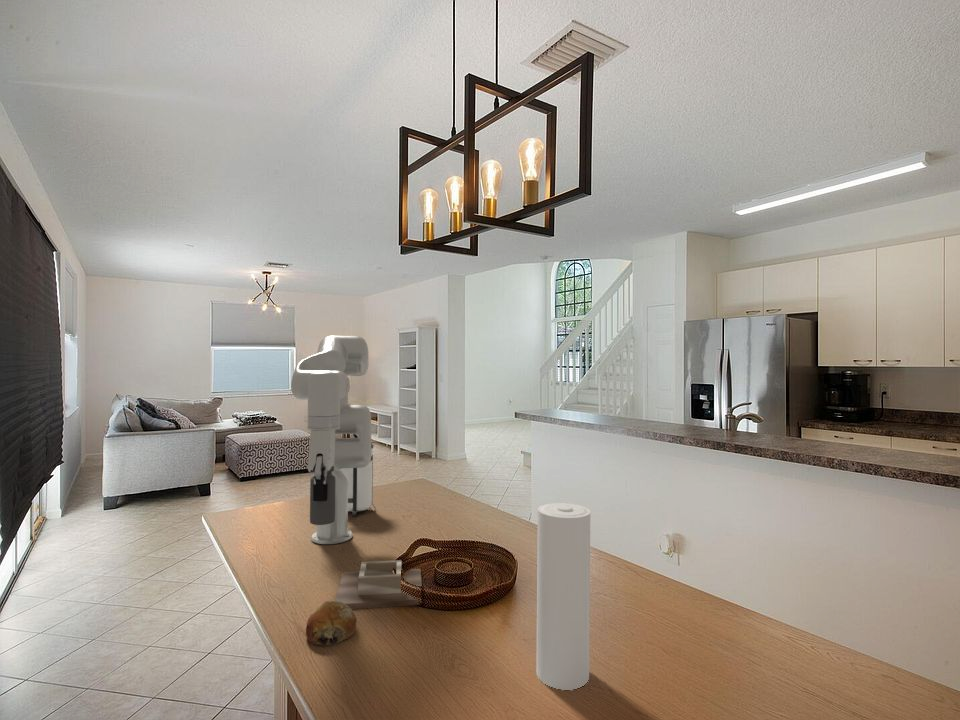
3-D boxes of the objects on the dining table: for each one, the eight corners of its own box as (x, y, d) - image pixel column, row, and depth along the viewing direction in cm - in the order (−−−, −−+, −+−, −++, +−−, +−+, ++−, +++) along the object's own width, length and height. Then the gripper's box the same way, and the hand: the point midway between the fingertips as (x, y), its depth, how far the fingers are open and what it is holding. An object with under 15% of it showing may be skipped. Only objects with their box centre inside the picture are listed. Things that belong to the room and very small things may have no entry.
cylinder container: (532, 660, 97) (533, 500, 97) (580, 658, 97) (582, 500, 98) (542, 691, 87) (543, 515, 88) (596, 689, 88) (597, 514, 88)
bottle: (327, 526, 121) (328, 462, 121) (305, 524, 122) (305, 461, 122) (339, 518, 126) (340, 458, 126) (318, 517, 128) (318, 456, 128)
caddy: (343, 576, 133) (343, 556, 133) (420, 573, 136) (420, 553, 136) (333, 609, 116) (334, 586, 116) (422, 604, 118) (423, 581, 119)
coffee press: (335, 506, 199) (336, 429, 199) (377, 505, 201) (378, 429, 201) (327, 520, 182) (328, 435, 182) (373, 519, 184) (373, 435, 184)
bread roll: (360, 648, 107) (369, 606, 110) (334, 650, 98) (345, 604, 101) (320, 639, 110) (330, 598, 113) (291, 640, 101) (303, 596, 105)
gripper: (314, 418, 132) (313, 488, 132) (299, 427, 115) (298, 507, 115) (344, 418, 133) (343, 488, 133) (334, 427, 116) (333, 506, 116)
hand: (322, 496), depth 124 cm, fingers closed on bottle, 5 cm apart
